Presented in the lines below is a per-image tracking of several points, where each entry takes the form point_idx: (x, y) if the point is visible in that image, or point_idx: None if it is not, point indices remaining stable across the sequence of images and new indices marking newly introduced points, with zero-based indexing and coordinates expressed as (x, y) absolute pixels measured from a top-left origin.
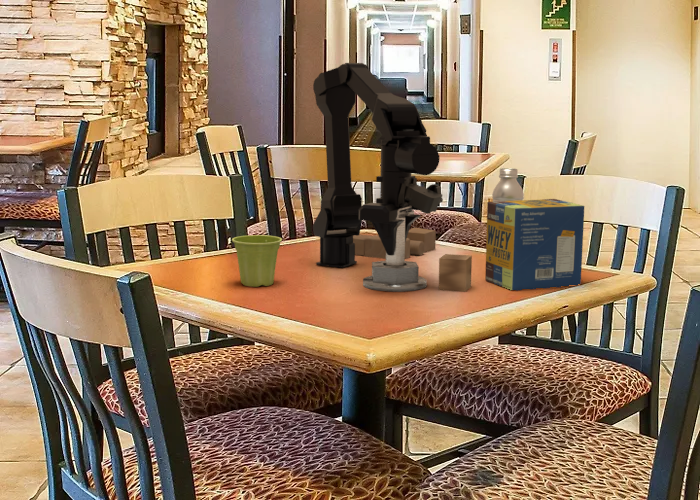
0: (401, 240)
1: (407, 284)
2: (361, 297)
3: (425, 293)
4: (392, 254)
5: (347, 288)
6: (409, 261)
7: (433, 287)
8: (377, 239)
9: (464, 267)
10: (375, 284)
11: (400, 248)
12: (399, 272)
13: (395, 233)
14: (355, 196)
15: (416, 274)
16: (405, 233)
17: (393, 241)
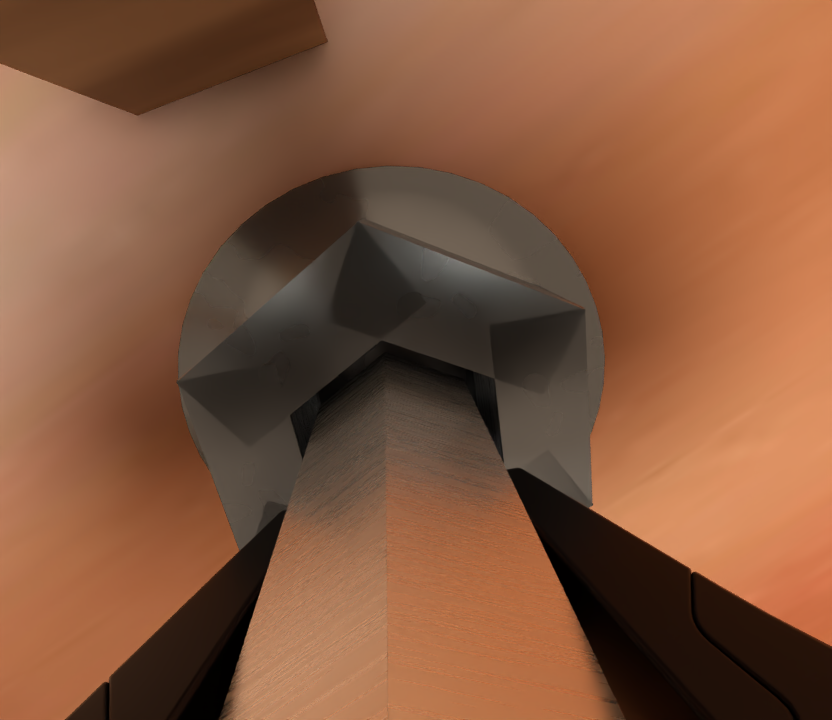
0: (451, 536)
1: (477, 236)
2: (796, 321)
3: (491, 56)
4: (521, 470)
5: (622, 509)
6: (207, 437)
7: (276, 136)
8: None
9: None
10: (594, 397)
11: (451, 464)
12: (547, 293)
13: (730, 660)
14: None
15: (379, 227)
16: (183, 702)
17: (649, 547)
